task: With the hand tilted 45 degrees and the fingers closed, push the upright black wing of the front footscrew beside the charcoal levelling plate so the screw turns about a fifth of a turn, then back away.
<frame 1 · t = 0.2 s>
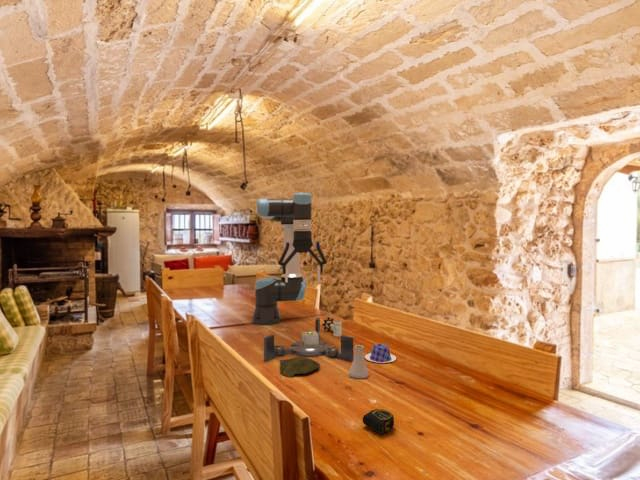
hand: (302, 281, 167), 28 cm above the table, fingers open, 13 cm apart
pottery fragment: (297, 370, 144), on the table
valve: (333, 334, 190), on the table
pudding: (380, 359, 155), on the table
tape measure: (379, 430, 101), on the table
tribrach: (310, 350, 165), on the table
flask: (358, 375, 138), on the table
front footscrew: (273, 345, 157), point 4 cm above the table, hinge at 0.0°
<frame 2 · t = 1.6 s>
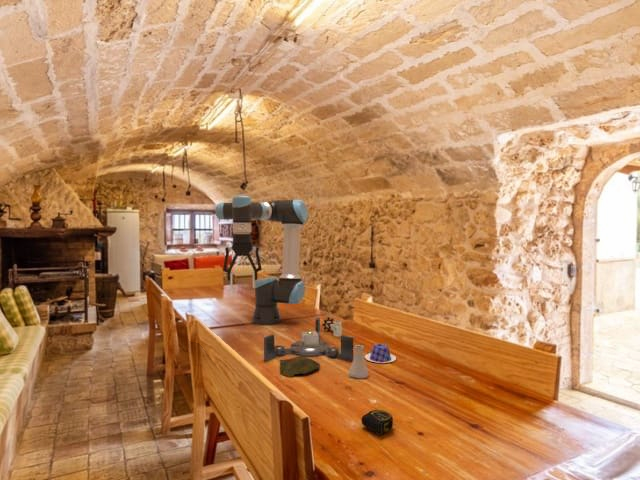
hand: (242, 288, 167), 25 cm above the table, fingers open, 8 cm apart
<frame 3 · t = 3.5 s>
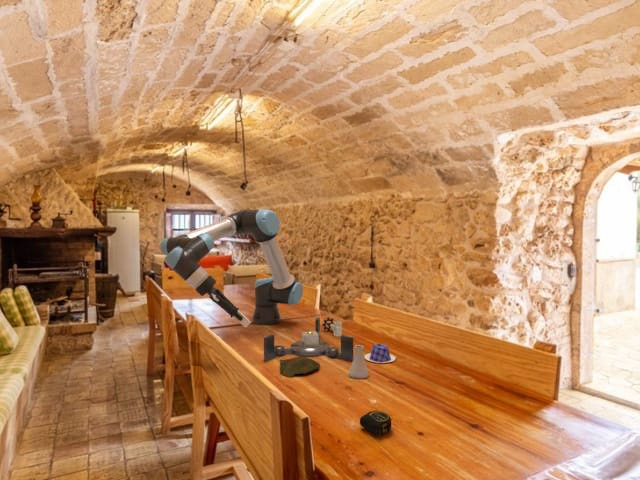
hand: (248, 324, 151), 14 cm above the table, fingers closed
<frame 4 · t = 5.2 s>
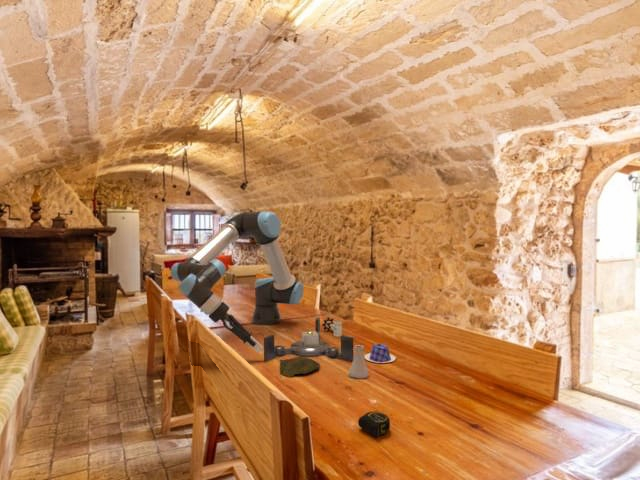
hand: (260, 350, 153), 4 cm above the table, fingers closed
front footscrew: (273, 345, 157), point 4 cm above the table, hinge at 0.0°, touching gripper
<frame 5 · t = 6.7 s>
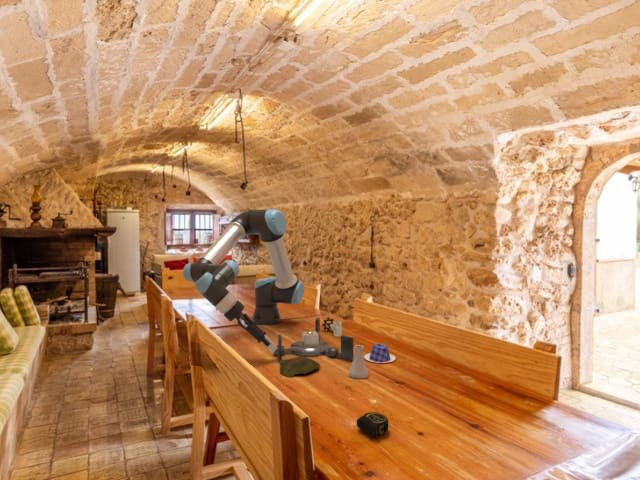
hand: (274, 349, 153), 4 cm above the table, fingers closed
front footscrew: (279, 346, 156), point 4 cm above the table, hinge at 37.7°, touching gripper
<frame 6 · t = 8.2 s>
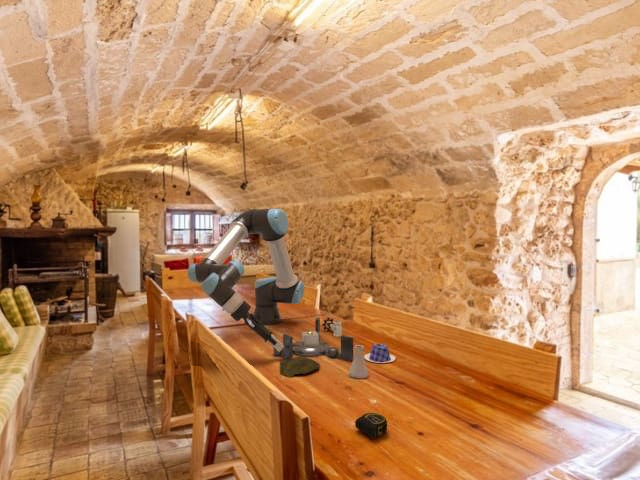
hand: (281, 348, 154), 4 cm above the table, fingers closed
front footscrew: (283, 345, 157), point 4 cm above the table, hinge at 66.2°, touching gripper
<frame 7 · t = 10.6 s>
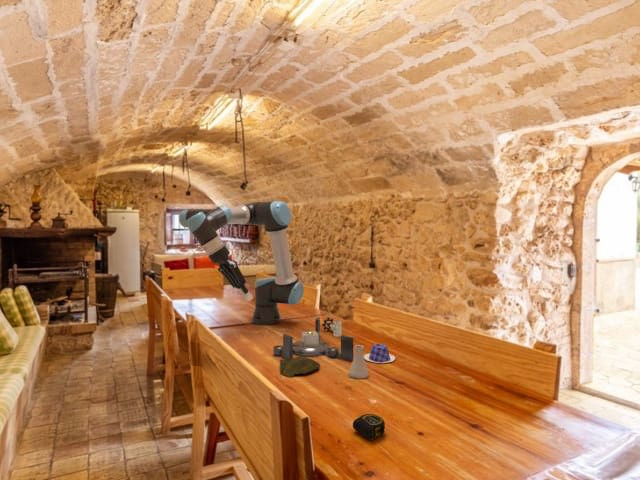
hand: (249, 299, 158), 22 cm above the table, fingers closed
front footscrew: (283, 345, 157), point 4 cm above the table, hinge at 66.2°
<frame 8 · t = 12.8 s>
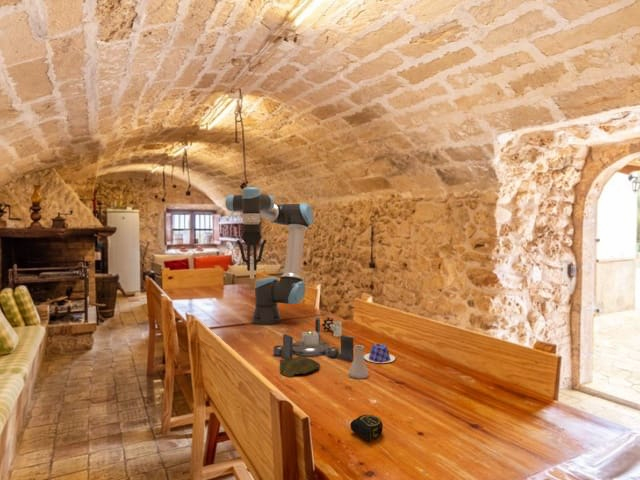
hand: (252, 278, 174), 28 cm above the table, fingers closed
at the end: front footscrew at +66° (first picture: +0°) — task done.
